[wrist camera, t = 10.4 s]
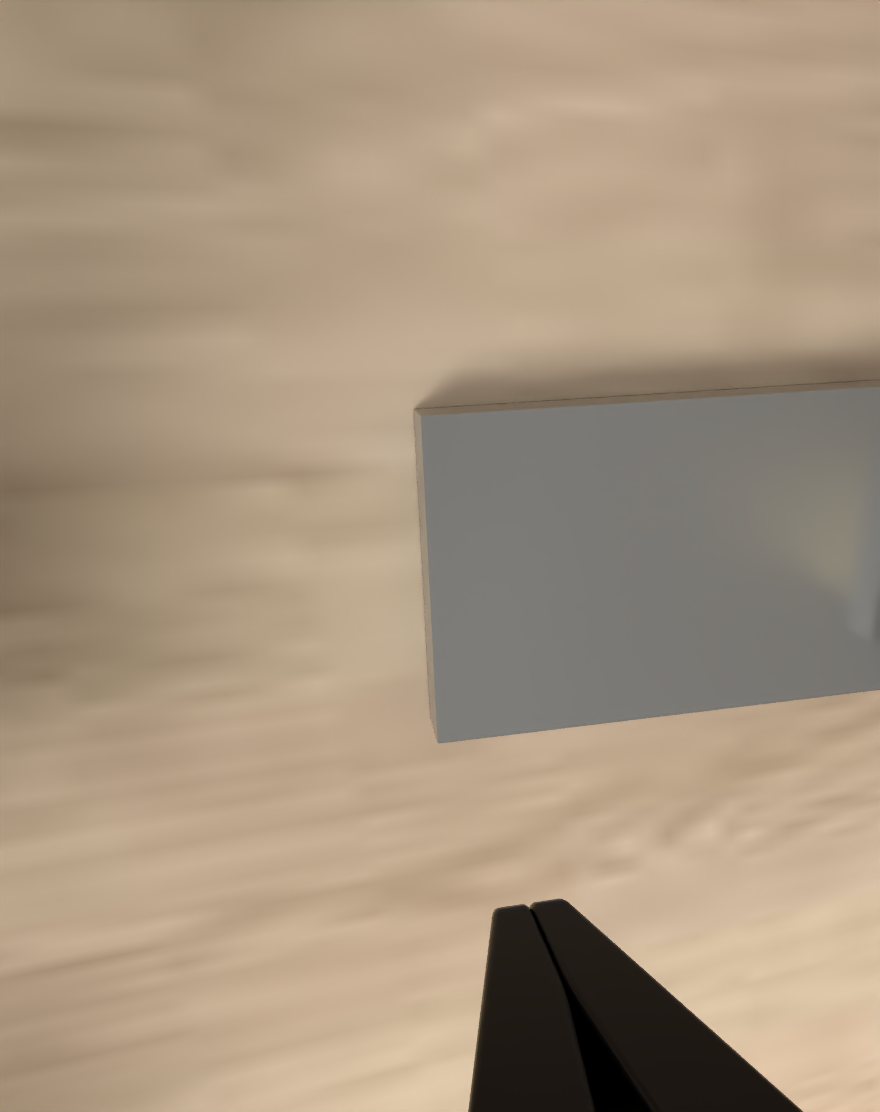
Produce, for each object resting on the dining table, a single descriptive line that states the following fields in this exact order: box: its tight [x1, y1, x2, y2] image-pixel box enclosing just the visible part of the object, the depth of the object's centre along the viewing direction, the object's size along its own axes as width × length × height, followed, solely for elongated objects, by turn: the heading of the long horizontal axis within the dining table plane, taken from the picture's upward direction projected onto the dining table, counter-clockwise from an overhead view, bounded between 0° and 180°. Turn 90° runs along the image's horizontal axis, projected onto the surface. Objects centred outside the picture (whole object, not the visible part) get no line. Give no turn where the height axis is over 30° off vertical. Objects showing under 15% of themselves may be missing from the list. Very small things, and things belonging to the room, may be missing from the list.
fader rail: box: [413, 380, 880, 743], centre depth 21 cm, size 20×9×4 cm, turn 93°
